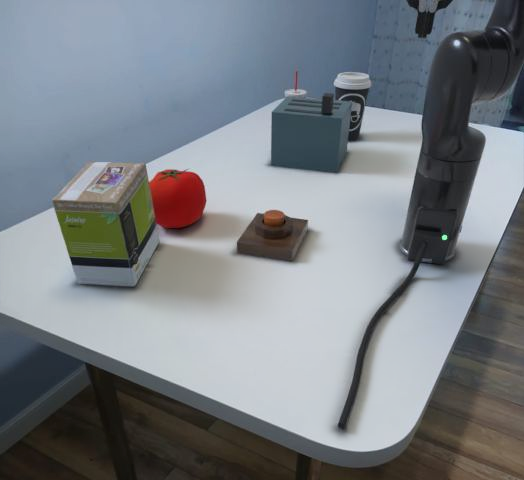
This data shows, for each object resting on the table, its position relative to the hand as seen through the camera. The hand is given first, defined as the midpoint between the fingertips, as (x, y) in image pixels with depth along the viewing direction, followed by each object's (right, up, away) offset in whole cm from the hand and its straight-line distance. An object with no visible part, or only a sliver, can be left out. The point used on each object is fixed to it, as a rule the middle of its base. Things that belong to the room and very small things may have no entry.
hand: (422, 37), depth 87 cm
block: (-26, -35, +4) cm, 44 cm away
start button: (-26, -32, +1) cm, 42 cm away
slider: (-14, -2, +23) cm, 27 cm away
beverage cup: (-19, +9, +55) cm, 59 cm away
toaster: (-16, -8, +35) cm, 40 cm away
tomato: (-45, -30, +10) cm, 55 cm away
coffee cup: (-5, +3, +48) cm, 48 cm away
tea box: (-52, -40, -2) cm, 66 cm away
